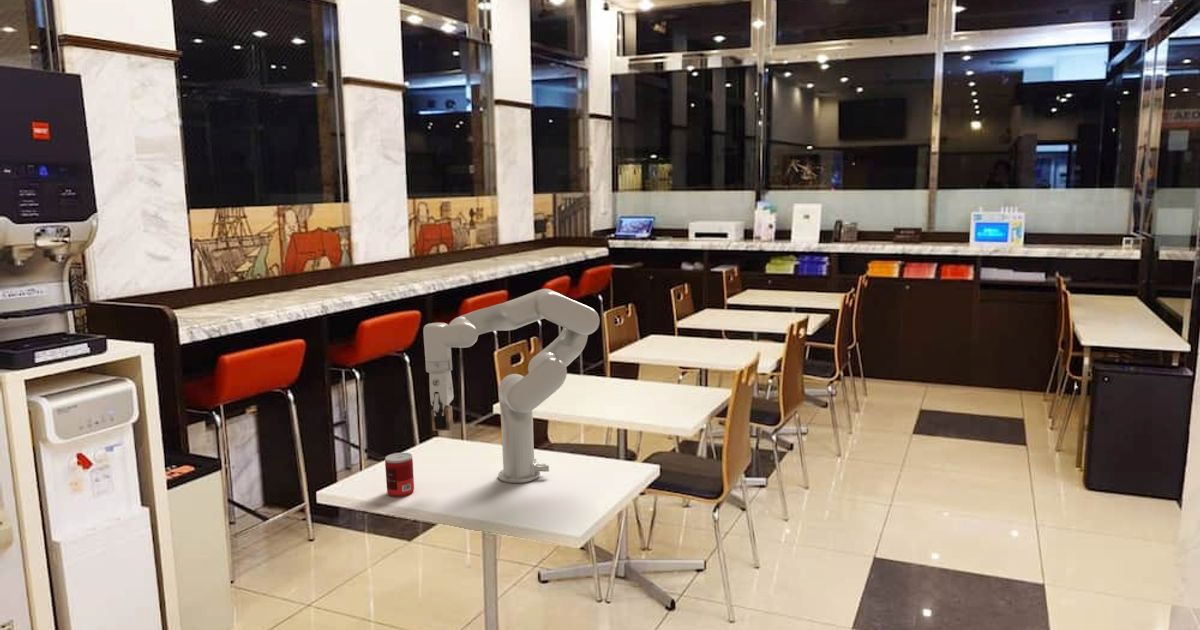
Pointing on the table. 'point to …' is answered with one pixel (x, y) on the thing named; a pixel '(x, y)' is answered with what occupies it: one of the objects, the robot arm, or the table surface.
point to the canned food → (399, 474)
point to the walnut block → (448, 418)
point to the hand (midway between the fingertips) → (443, 425)
